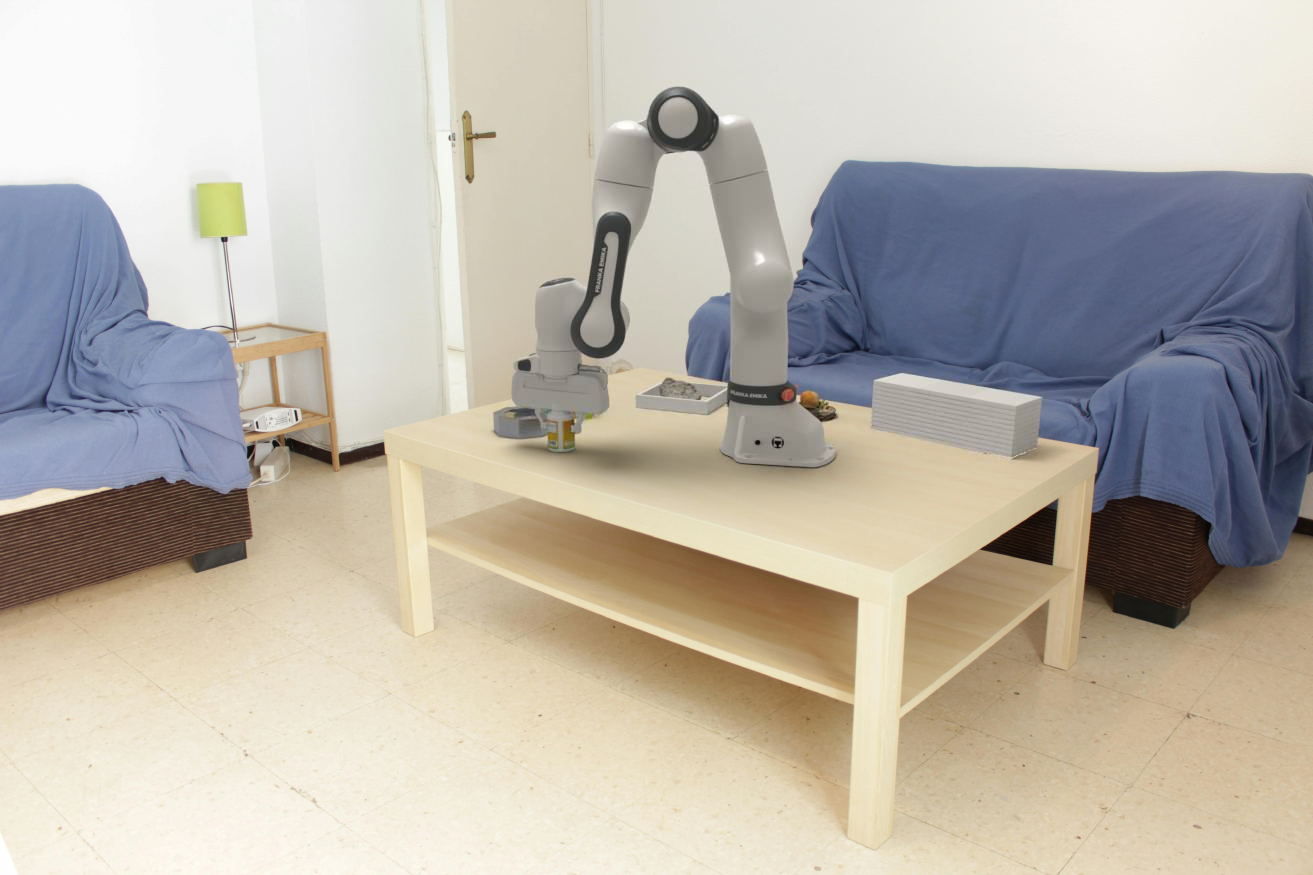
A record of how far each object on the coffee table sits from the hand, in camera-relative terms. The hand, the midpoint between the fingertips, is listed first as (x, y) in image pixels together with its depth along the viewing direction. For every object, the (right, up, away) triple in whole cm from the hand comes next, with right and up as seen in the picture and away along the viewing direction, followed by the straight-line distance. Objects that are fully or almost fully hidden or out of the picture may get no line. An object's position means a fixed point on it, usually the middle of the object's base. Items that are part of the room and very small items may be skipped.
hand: (561, 431), depth 199 cm
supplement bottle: (0, -4, +1) cm, 4 cm away
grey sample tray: (+26, +7, +39) cm, 47 cm away
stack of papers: (+80, -2, +9) cm, 80 cm away
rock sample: (+25, +6, +37) cm, 45 cm away
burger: (+53, +3, +27) cm, 60 cm away
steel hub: (-9, 0, +14) cm, 17 cm away
